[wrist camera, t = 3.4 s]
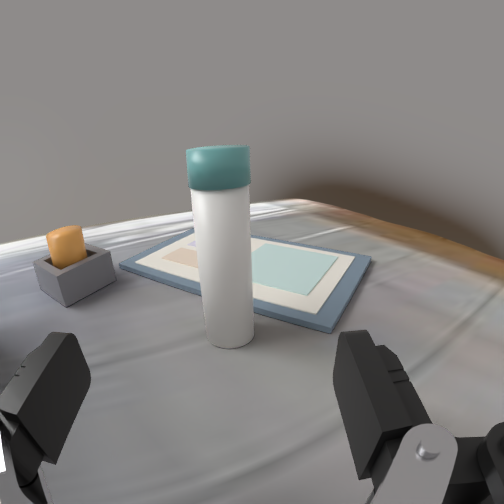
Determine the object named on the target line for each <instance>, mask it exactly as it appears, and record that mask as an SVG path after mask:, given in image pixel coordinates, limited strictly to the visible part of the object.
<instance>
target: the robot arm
mask: <svg viewBox="0 0 504 504" xmlns="http://www.w3.org/2000/svg"><path fill="white" fill-rule="evenodd" d="M90 382H91V375H90V370H89V367H88V365H87V363H86V360H85V358H84V356H83V353H82V351H81V348H80V346H79V343H78V340H77V338H76V336H75V335H74V334H72V333H60V332H51V333H50V334H49V335H48V336H47V338H46V339H45V340H44V342H43V343H42V344H41V346H39V347H38V348H36V349H35V350H34V351H32V352H31V353H30V354H29V355H28V356H27V357H26V359H25V360H24V361H23V363H22V364H21V368H19V369H18V370H17V371H16V373H15V377H14V376H13V377H12V379H11V380H10V382H9V383H8V385H7V386H6V388H5V389H4V391H3V392H2V394H1V395H0V504H54V503H53V500H52V497H51V494H50V492H49V489H48V485H47V482H46V479H45V476H44V473H43V470H42V469H41V467H40V464H41V462H42V461H45V462H49V463H52V464H55V465H56V463H57V460H58V458H59V455H60V453H61V450H62V448H63V445H64V443H65V441H66V438H67V436H68V434H69V431H70V429H71V427H72V424H73V422H74V420H75V418H76V415H77V413H78V411H79V409H80V407H81V404H82V402H83V400H84V398H85V396H86V394H87V392H88V389H89V387H90ZM333 385H334V390H335V394H336V397H337V401H338V405H339V408H340V412H341V415H342V419H343V422H344V426H345V430H346V433H347V437H348V441H349V444H350V448H351V452H352V456H353V460H354V463H355V467H356V471H357V475H358V479H359V480H361V479H366V478H372V482H373V485H374V488H373V490H372V491H371V493H370V495H369V497H368V499H367V501H366V502H365V504H504V422H502V423H499V424H497V425H495V426H494V427H493V428H492V429H491V430H490V431H489V433H488V434H487V435H486V437H465V438H459V437H454V436H453V435H452V433H451V432H450V431H448V430H447V429H446V428H444V427H442V426H439V425H436V424H433V423H432V422H431V420H430V418H429V416H428V414H427V412H426V410H425V408H424V406H423V404H422V402H421V400H420V398H419V396H418V394H417V393H416V391H415V389H414V387H413V385H412V383H411V382H409V377H408V375H407V374H406V372H405V371H404V368H403V366H402V364H401V362H400V361H399V359H398V357H397V355H396V354H394V353H393V352H392V351H391V350H390V349H388V348H387V347H386V346H385V345H380V346H375V344H374V342H373V340H372V338H371V336H370V334H369V333H368V331H367V330H358V331H348V332H341V333H340V335H339V339H338V345H337V352H336V358H335V364H334V370H333Z"/></svg>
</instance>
